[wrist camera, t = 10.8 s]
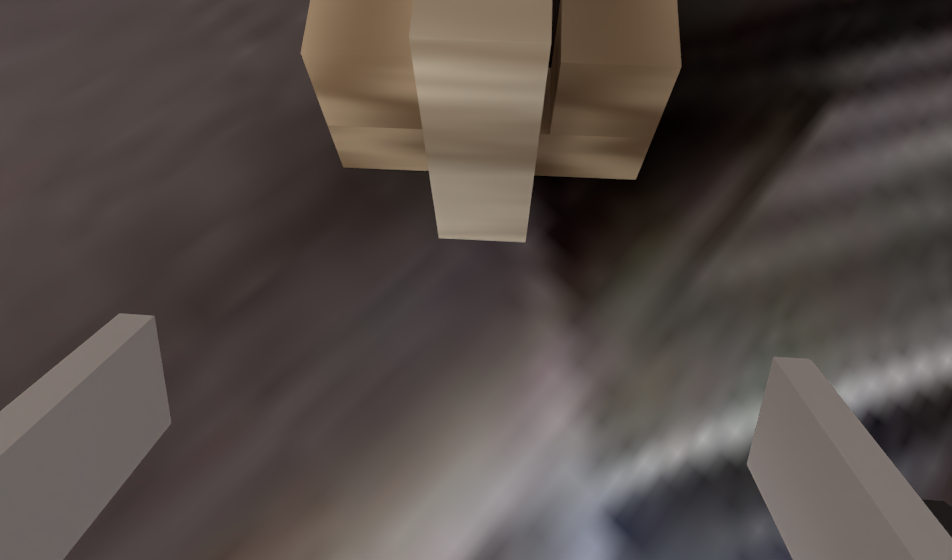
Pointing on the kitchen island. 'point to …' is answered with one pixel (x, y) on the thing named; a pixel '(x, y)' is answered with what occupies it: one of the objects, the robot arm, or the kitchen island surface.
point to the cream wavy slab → (481, 109)
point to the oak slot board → (566, 94)
